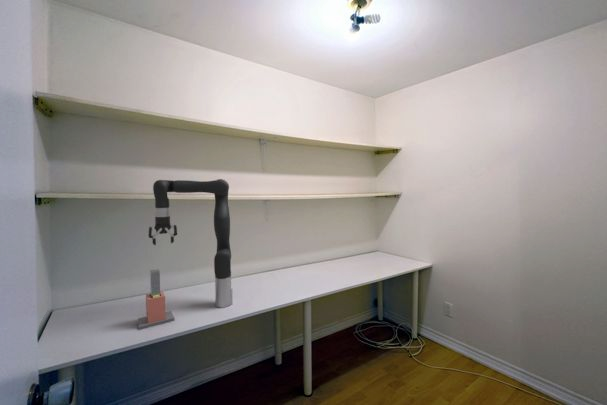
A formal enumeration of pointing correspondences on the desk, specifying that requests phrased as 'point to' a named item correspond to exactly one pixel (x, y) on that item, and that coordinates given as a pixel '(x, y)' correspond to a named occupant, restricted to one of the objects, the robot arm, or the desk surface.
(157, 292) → the steel column
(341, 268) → the desk surface
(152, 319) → the stand sleeve
